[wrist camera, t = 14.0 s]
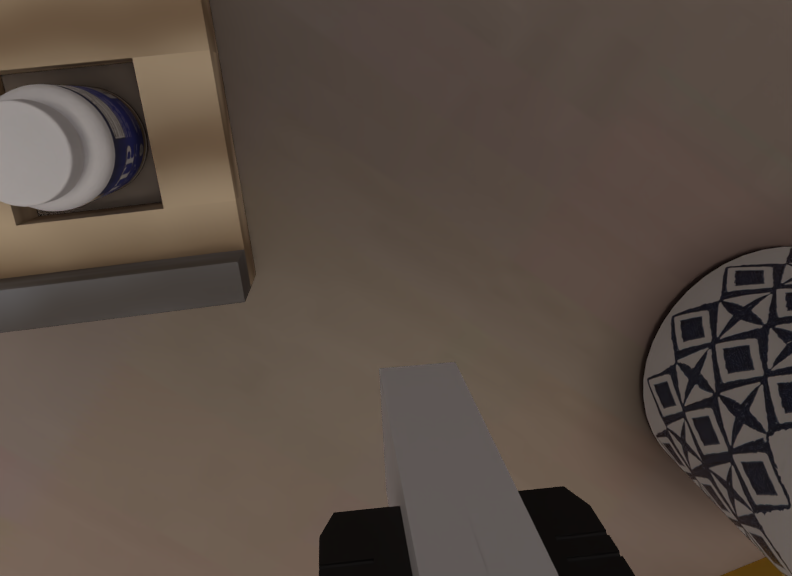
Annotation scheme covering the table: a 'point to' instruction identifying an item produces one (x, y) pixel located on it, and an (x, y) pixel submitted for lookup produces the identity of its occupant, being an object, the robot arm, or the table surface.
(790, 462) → the planter
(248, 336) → the table surface
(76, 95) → the pill bottle
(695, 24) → the table surface
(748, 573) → the bracket
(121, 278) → the jig
